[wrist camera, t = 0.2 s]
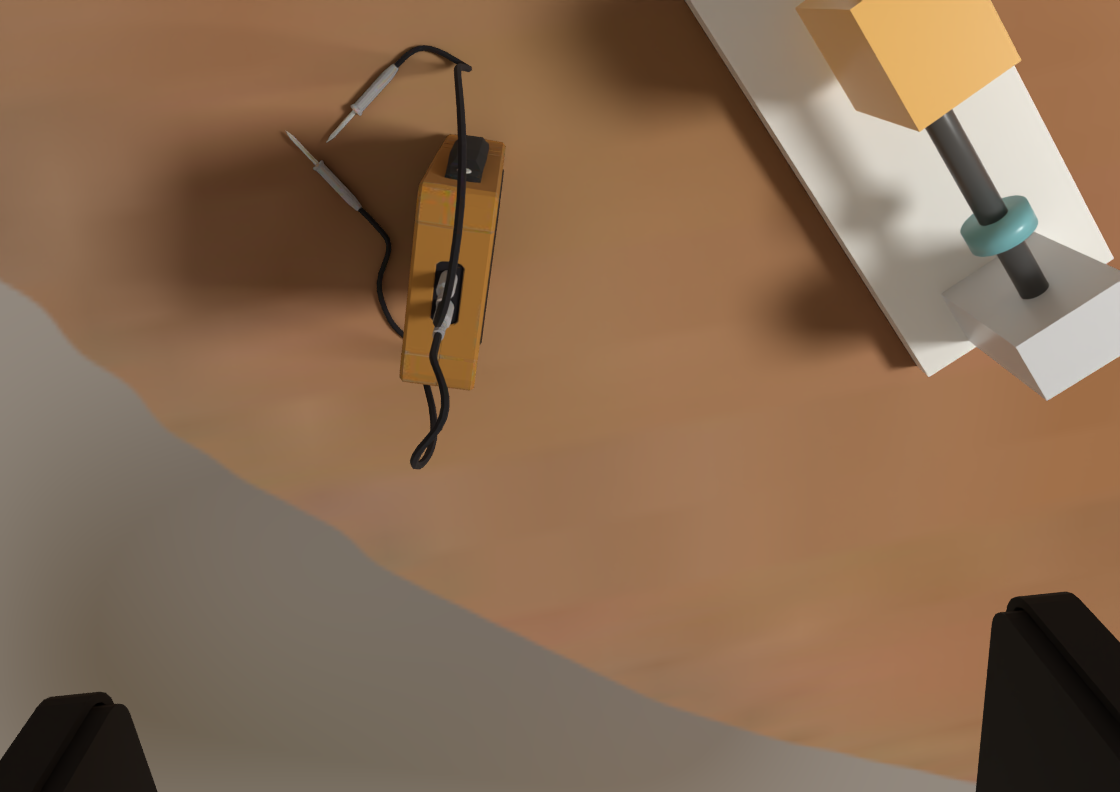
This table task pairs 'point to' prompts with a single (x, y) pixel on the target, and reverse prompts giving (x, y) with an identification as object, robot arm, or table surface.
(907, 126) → the sleeve
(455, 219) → the multimeter
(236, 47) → the table surface
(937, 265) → the board
